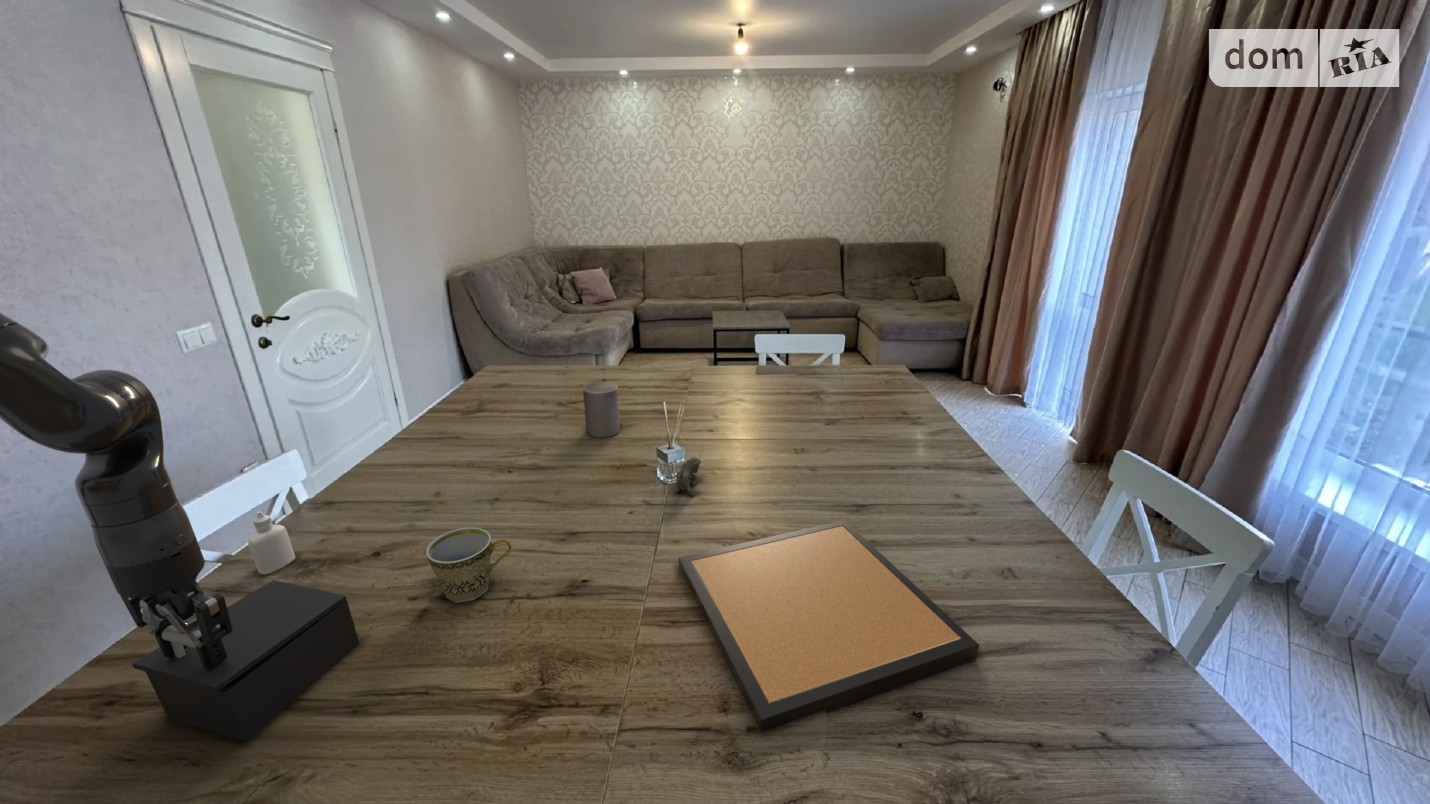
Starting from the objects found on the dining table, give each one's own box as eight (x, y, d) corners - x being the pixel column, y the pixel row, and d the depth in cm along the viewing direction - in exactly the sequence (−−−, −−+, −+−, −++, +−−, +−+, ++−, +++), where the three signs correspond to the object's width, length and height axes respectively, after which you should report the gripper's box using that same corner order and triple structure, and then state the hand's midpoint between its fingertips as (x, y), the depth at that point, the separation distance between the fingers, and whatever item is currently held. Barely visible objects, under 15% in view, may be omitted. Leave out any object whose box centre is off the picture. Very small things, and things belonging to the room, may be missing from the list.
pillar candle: (585, 427, 164) (580, 379, 158) (618, 423, 166) (614, 376, 161) (588, 440, 155) (583, 390, 150) (622, 435, 158) (619, 386, 153)
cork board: (843, 531, 113) (678, 570, 101) (844, 519, 112) (678, 557, 100) (975, 659, 82) (760, 736, 70) (979, 644, 81) (761, 720, 69)
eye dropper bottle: (258, 568, 102) (238, 512, 98) (295, 556, 106) (277, 501, 101) (260, 580, 99) (239, 522, 95) (298, 567, 102) (280, 511, 98)
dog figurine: (694, 501, 124) (694, 472, 121) (670, 499, 125) (669, 469, 123) (706, 476, 135) (706, 449, 132) (684, 474, 136) (683, 447, 133)
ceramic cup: (431, 617, 90) (420, 567, 87) (442, 579, 99) (432, 531, 96) (515, 603, 93) (507, 553, 90) (518, 567, 102) (511, 520, 99)
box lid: (216, 692, 65) (205, 656, 63) (133, 668, 68) (120, 633, 67) (346, 599, 81) (340, 569, 80) (274, 584, 84) (266, 554, 83)
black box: (249, 746, 69) (226, 693, 66) (169, 721, 72) (144, 669, 69) (360, 646, 84) (347, 600, 81) (290, 629, 88) (274, 584, 85)
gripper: (63, 553, 61) (118, 669, 67) (156, 575, 58) (206, 695, 64) (144, 518, 68) (188, 626, 74) (231, 535, 65) (271, 647, 70)
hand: (196, 657), depth 69 cm, fingers closed on box lid, 6 cm apart
